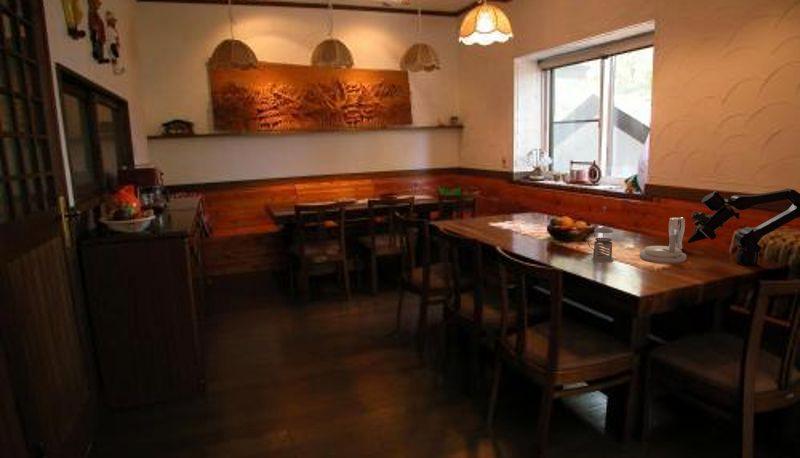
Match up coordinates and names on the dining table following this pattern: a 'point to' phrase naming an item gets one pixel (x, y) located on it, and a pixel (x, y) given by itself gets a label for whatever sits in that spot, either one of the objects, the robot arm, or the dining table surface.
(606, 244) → the french press
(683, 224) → the beer glass
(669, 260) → the base
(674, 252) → the dial
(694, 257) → the dining table surface
